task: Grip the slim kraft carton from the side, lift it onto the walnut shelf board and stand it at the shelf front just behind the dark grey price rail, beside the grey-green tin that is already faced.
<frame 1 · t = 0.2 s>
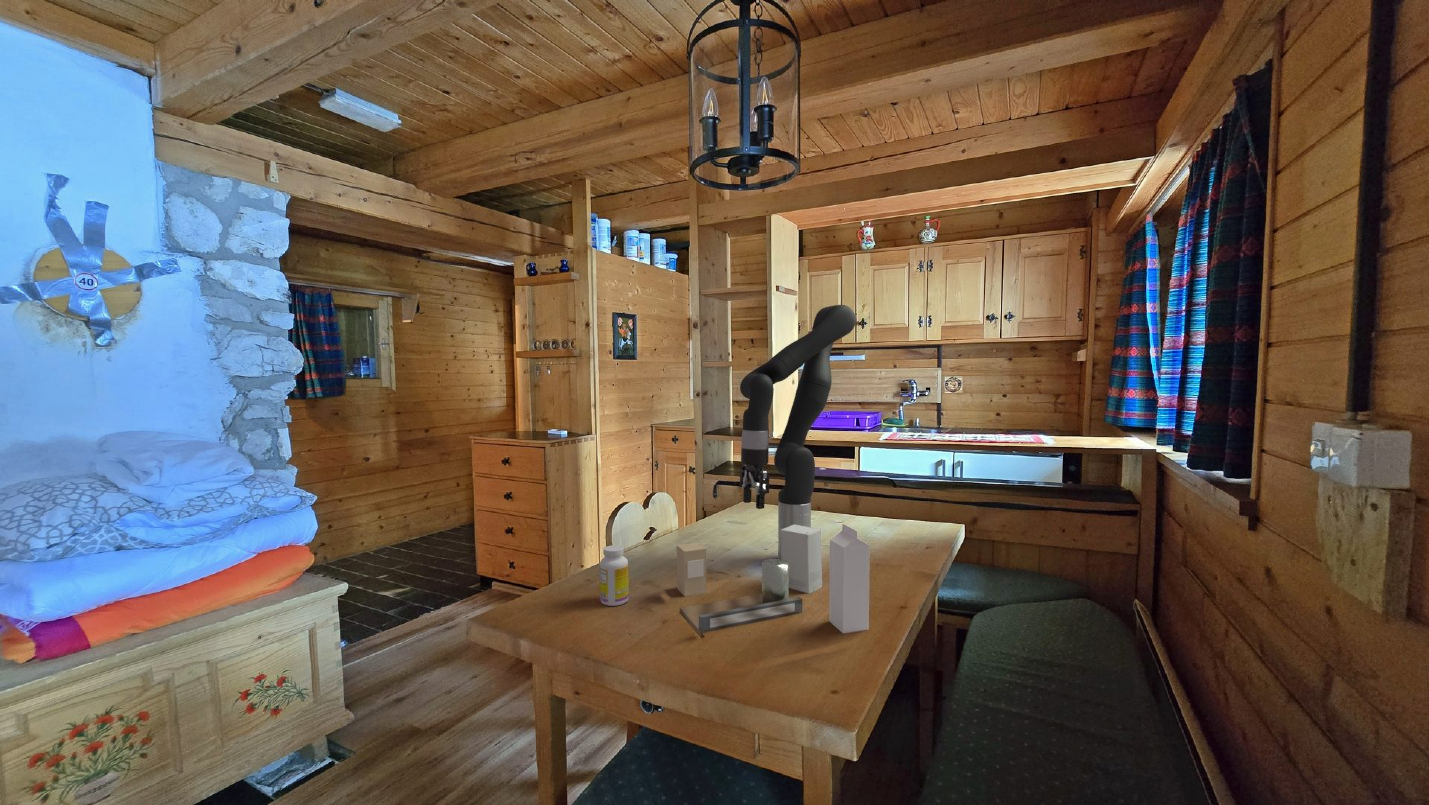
hand: (753, 505, 157), 17 cm above the table, tool pointing down, fingers open, 8 cm apart
oat tin: (775, 606, 129), point 1 cm above the table, touching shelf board
skincare box: (801, 591, 141), on the table
milk: (848, 631, 119), on the table
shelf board: (740, 615, 127), on the table
supplement bottle: (614, 602, 135), on the table
kraft carton: (691, 595, 138), on the table
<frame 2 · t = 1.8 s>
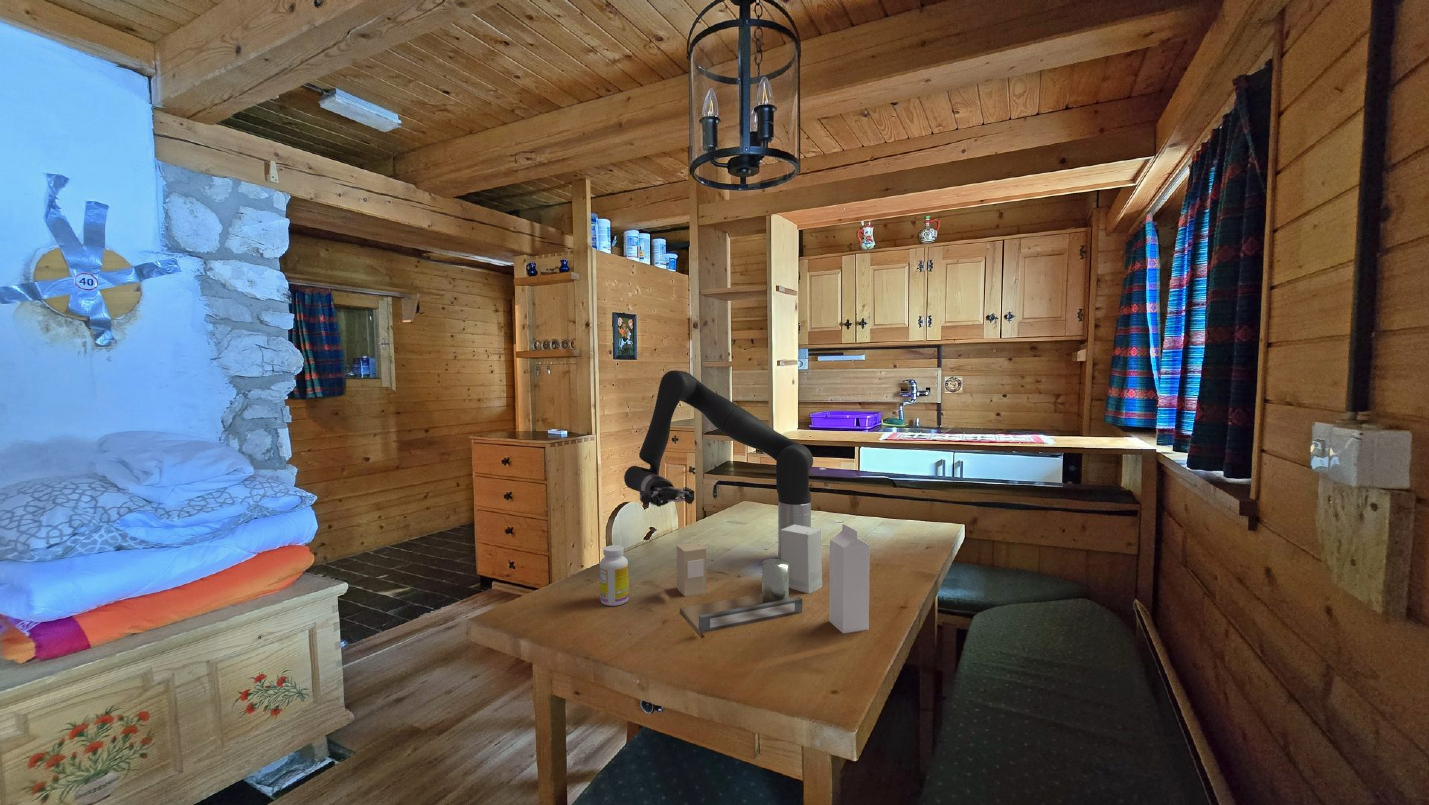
hand: (675, 501, 148), 21 cm above the table, tool horizontal, fingers open, 8 cm apart
nothing on the table moved.
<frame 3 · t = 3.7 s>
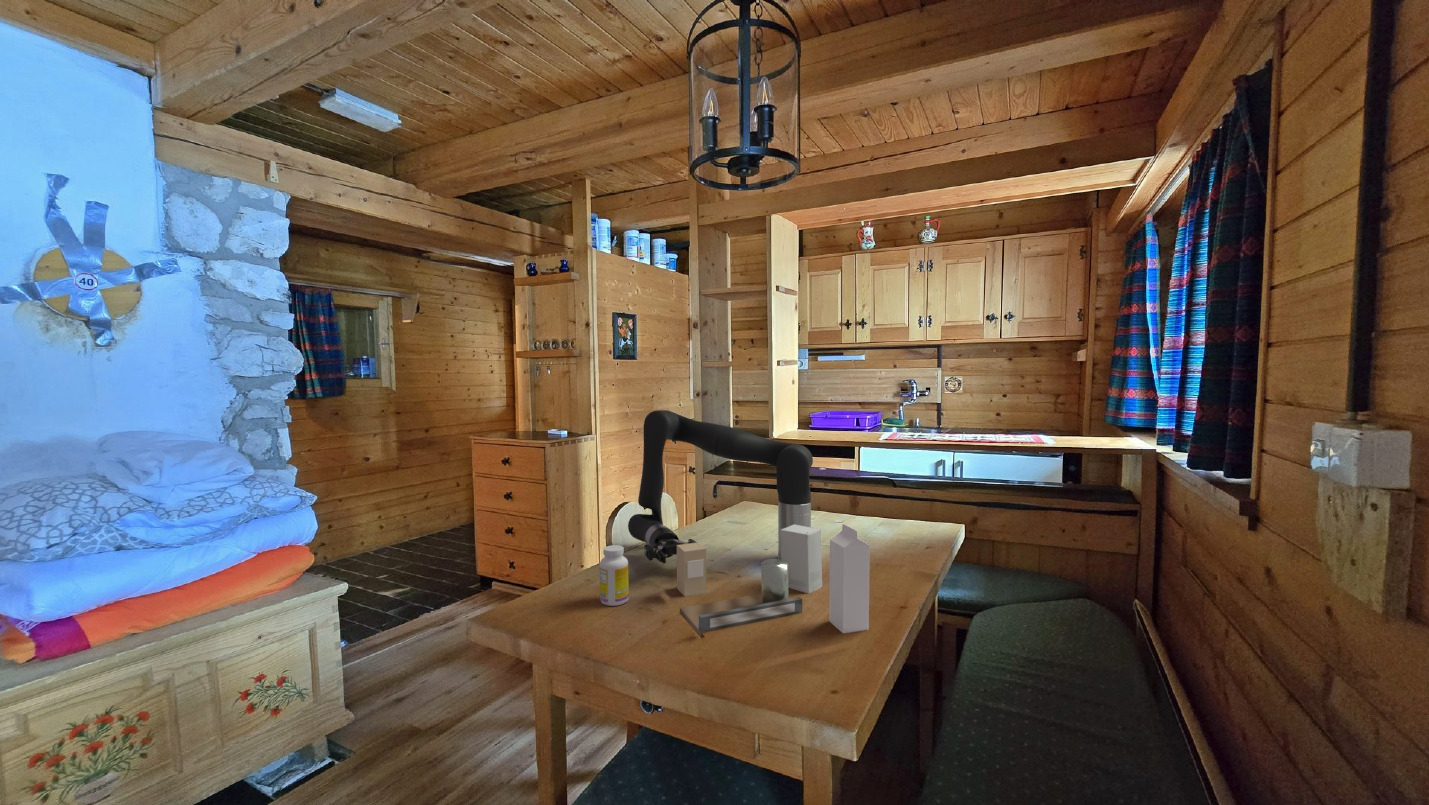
hand: (680, 557, 145), 7 cm above the table, tool horizontal, fingers open, 8 cm apart
nothing on the table moved.
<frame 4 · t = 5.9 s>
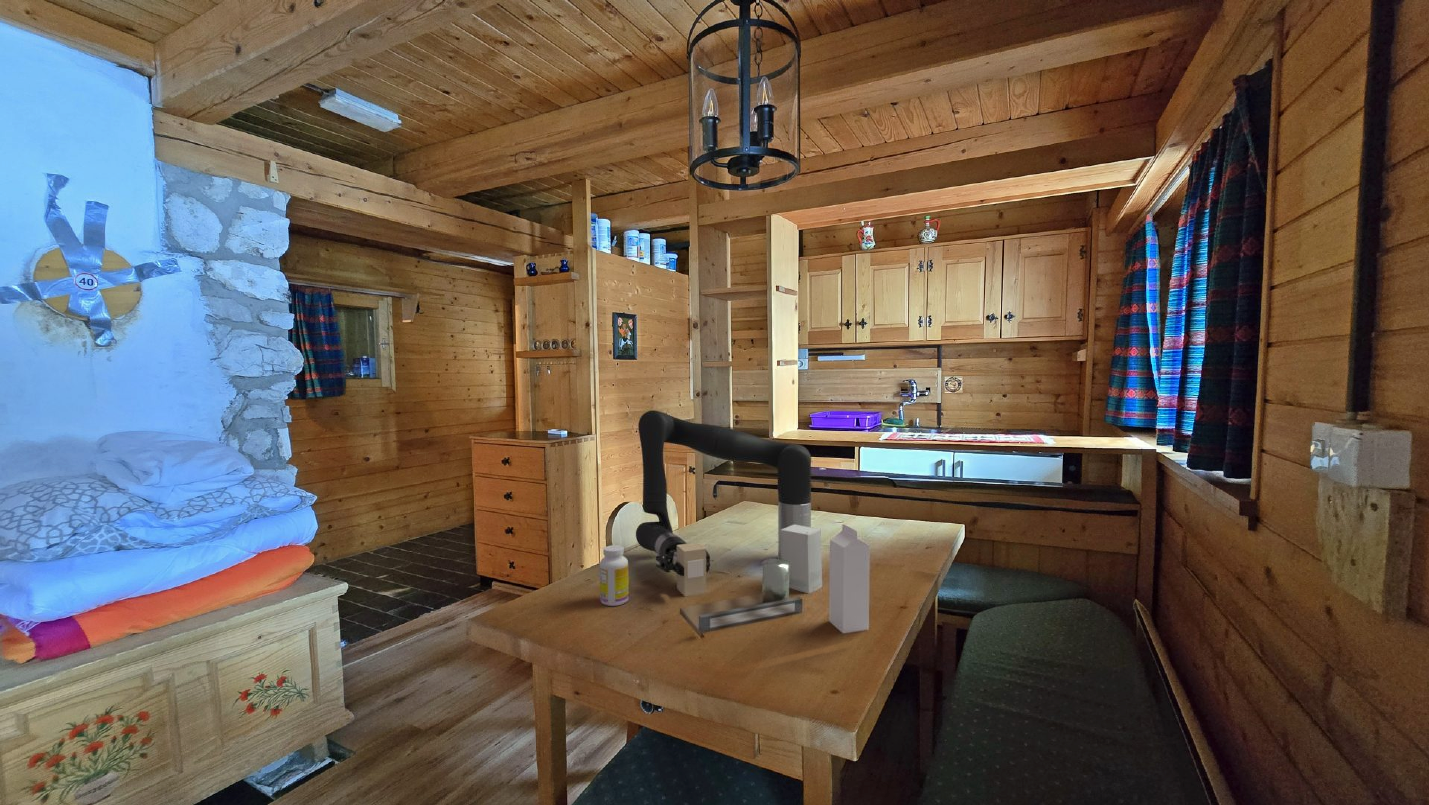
hand: (695, 570, 136), 7 cm above the table, tool horizontal, fingers closed on kraft carton, 5 cm apart
kraft carton: (691, 595, 138), on the table, touching gripper
everything else where it was.
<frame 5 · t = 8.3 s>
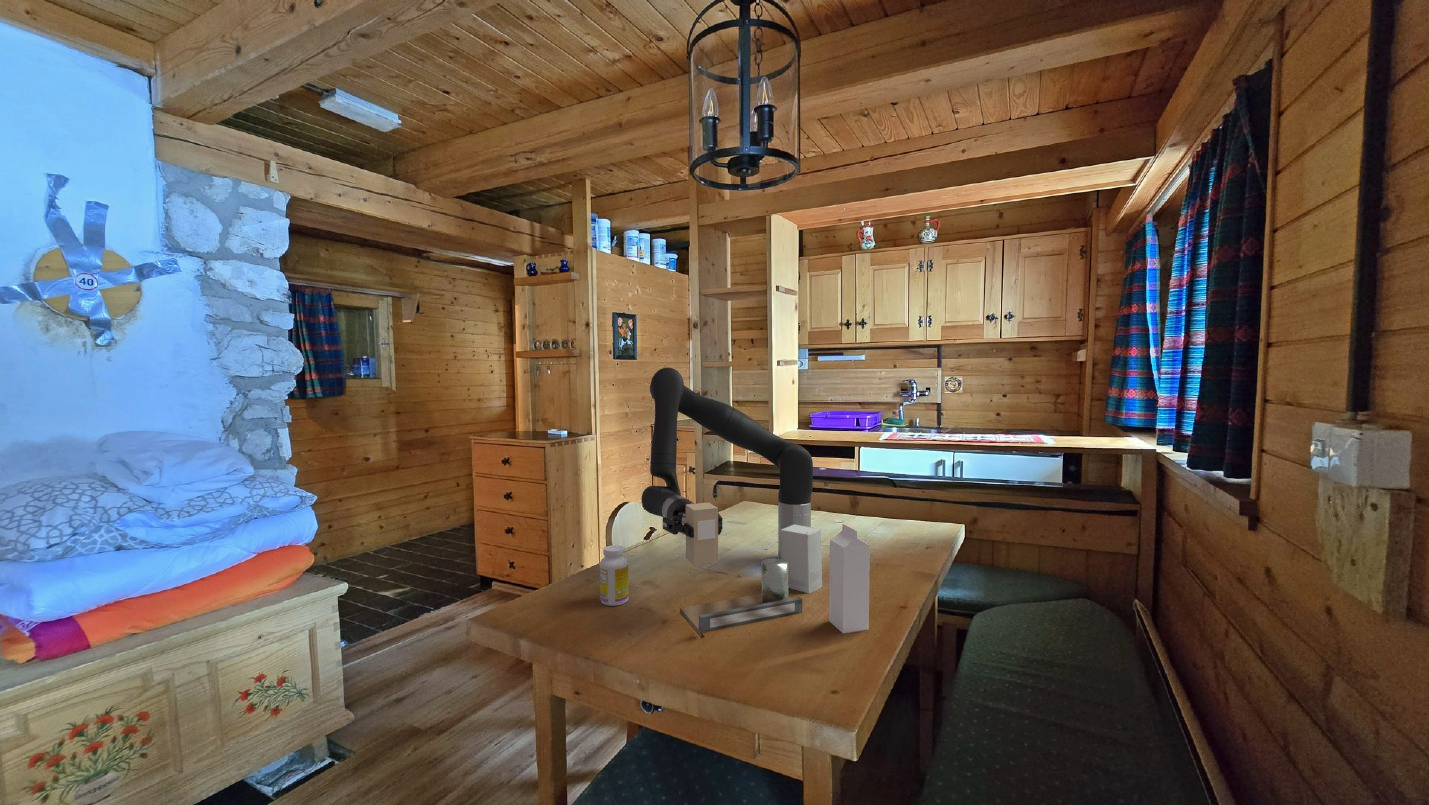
hand: (705, 531, 122), 20 cm above the table, tool horizontal, fingers closed on kraft carton, 5 cm apart
kraft carton: (701, 560, 125), point 13 cm above the table, touching gripper
everything else where it was.
when the fingers open (10 cm above the table, at t = 10.9 s): kraft carton drops 1 cm, resting on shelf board.
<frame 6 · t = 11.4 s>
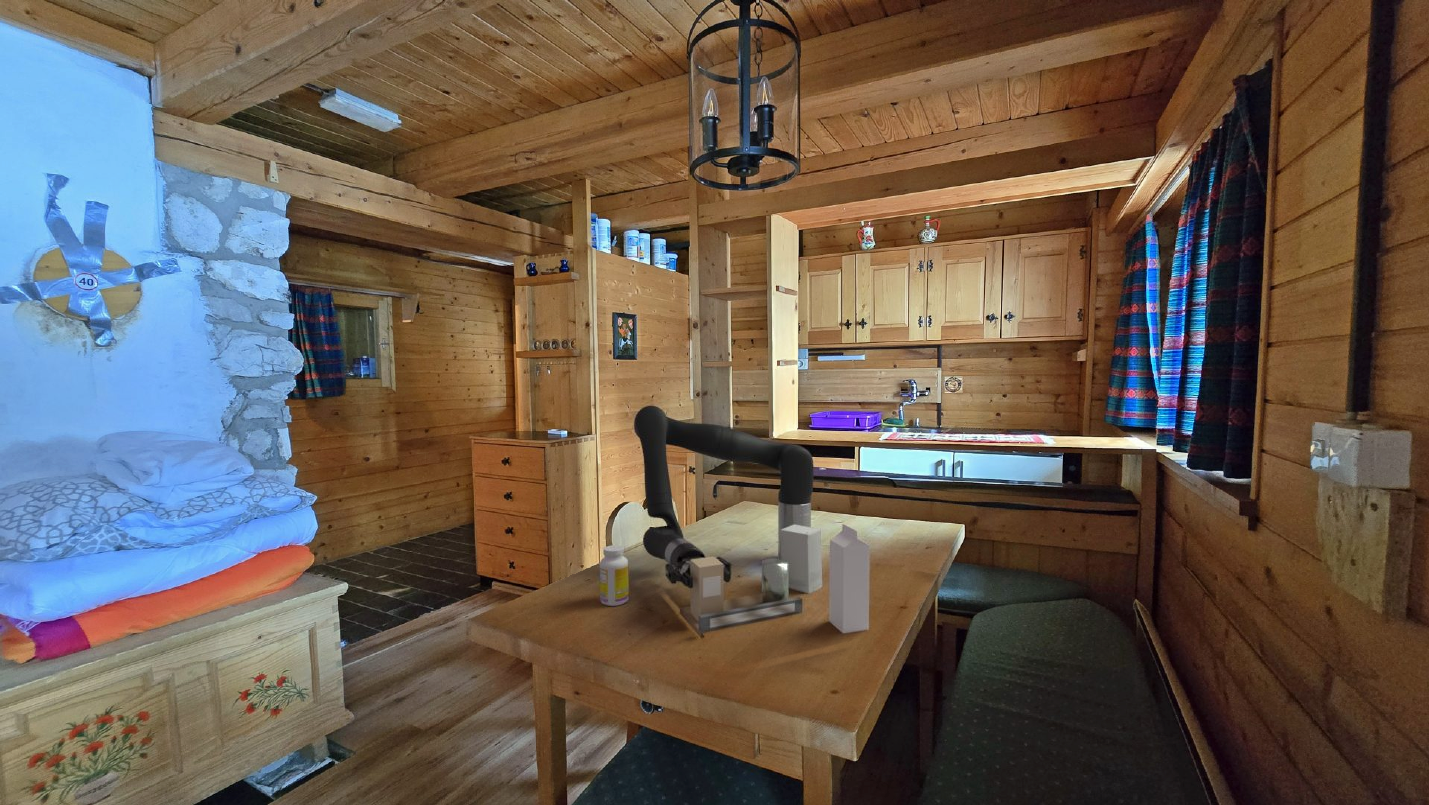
hand: (710, 580, 122), 10 cm above the table, tool horizontal, fingers open, 8 cm apart
kraft carton: (706, 616, 124), point 1 cm above the table, touching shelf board
everything else where it was.
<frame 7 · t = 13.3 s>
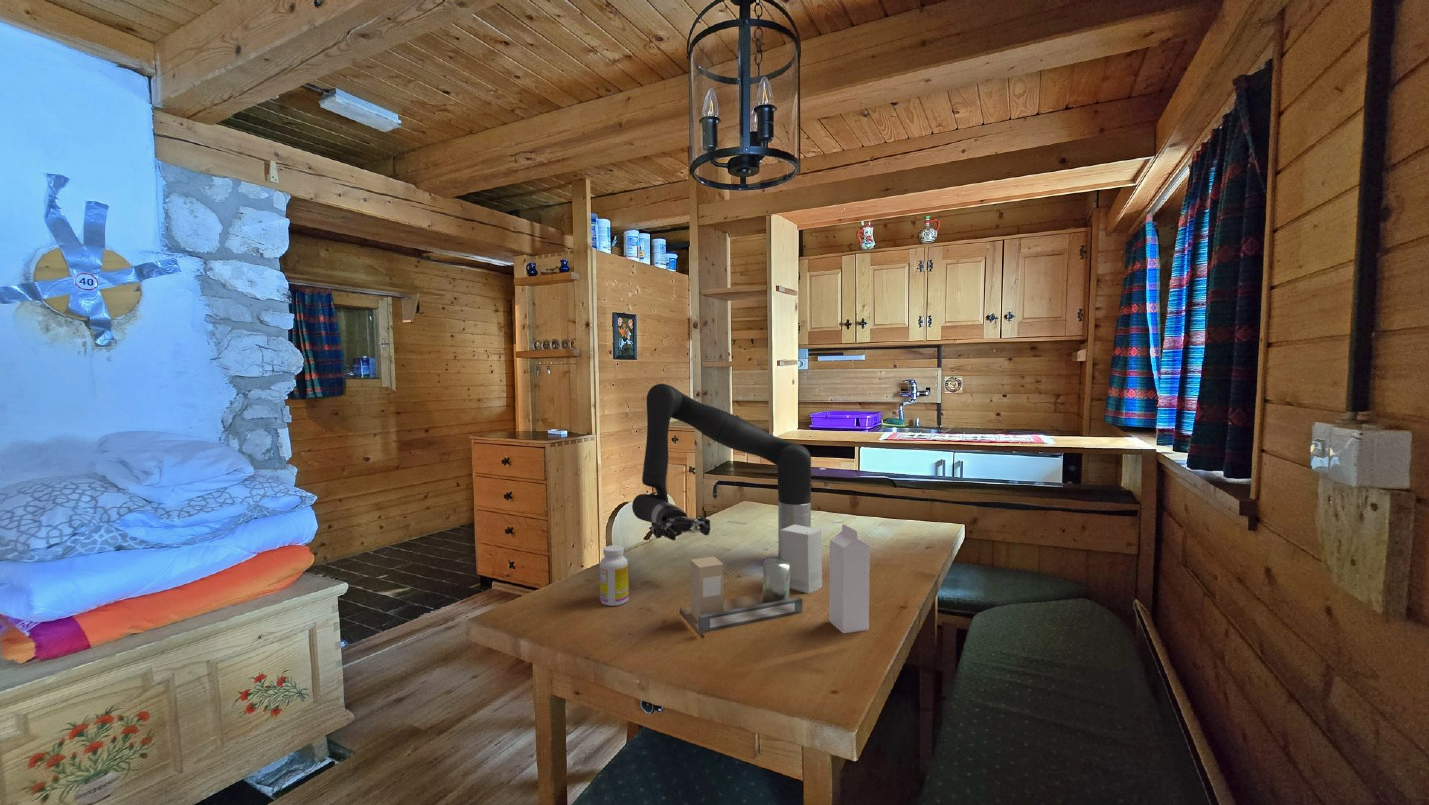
hand: (691, 533, 137), 15 cm above the table, tool horizontal, fingers open, 8 cm apart
nothing on the table moved.
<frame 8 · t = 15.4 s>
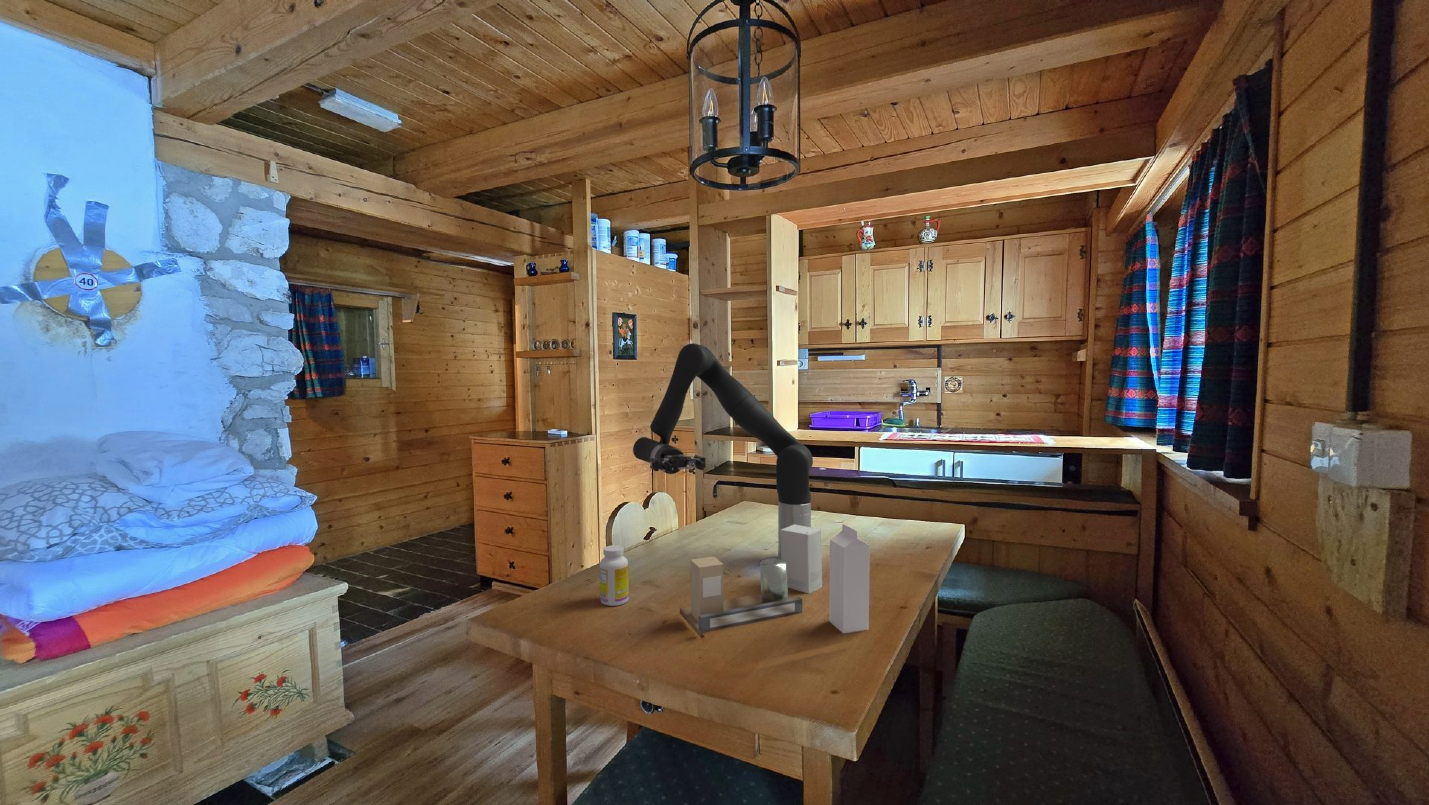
hand: (686, 467, 145), 30 cm above the table, tool horizontal, fingers open, 8 cm apart
nothing on the table moved.
at the end: kraft carton inside the target area (0.1 cm from its centre), point 1.2 cm above the table; kraft carton tilted 0°; the gripper is holding nothing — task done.
